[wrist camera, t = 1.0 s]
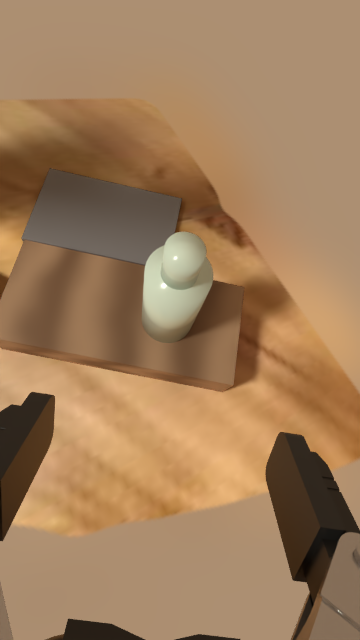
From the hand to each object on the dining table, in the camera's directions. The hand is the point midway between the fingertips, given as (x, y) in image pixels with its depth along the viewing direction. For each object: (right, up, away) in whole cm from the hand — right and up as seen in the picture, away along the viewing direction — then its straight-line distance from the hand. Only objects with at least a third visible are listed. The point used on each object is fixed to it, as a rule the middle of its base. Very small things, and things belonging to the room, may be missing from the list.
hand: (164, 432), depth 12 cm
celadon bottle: (-1, +4, +20) cm, 20 cm away
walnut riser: (-5, +4, +23) cm, 24 cm away
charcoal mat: (-8, +16, +27) cm, 32 cm away
